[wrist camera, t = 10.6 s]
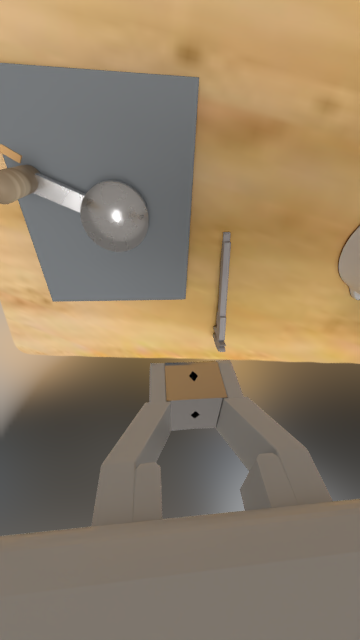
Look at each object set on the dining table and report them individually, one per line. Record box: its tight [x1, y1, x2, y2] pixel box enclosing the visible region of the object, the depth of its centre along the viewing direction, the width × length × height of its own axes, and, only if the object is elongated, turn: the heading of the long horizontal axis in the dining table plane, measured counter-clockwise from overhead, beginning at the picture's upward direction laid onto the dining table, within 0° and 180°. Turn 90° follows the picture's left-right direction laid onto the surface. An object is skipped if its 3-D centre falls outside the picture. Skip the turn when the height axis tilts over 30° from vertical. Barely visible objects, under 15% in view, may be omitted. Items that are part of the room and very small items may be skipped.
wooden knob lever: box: [0, 165, 149, 252], centre depth 26 cm, size 15×8×7 cm, turn 65°
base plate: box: [0, 63, 199, 301], centre depth 31 cm, size 21×26×2 cm
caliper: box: [213, 232, 231, 352], centre depth 39 cm, size 20×1×6 cm, turn 1°
